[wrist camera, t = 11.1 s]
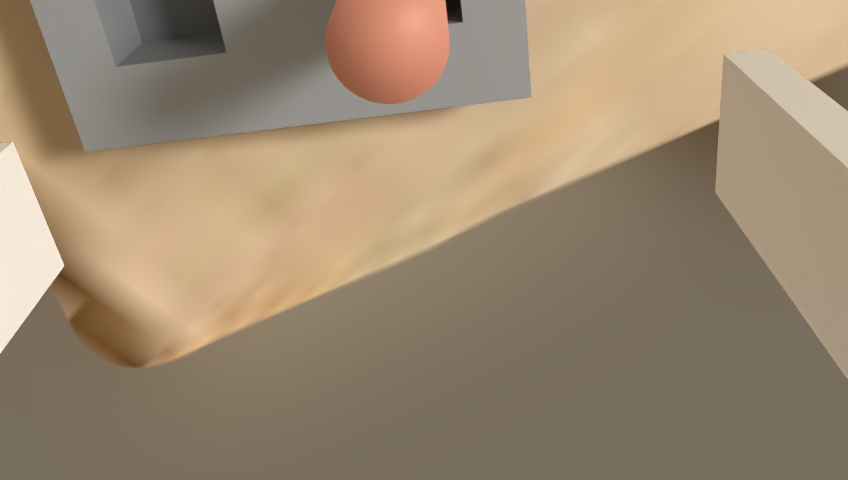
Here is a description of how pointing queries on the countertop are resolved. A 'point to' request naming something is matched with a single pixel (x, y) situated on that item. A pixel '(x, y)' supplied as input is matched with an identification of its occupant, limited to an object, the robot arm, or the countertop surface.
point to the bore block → (248, 66)
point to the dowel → (388, 47)
